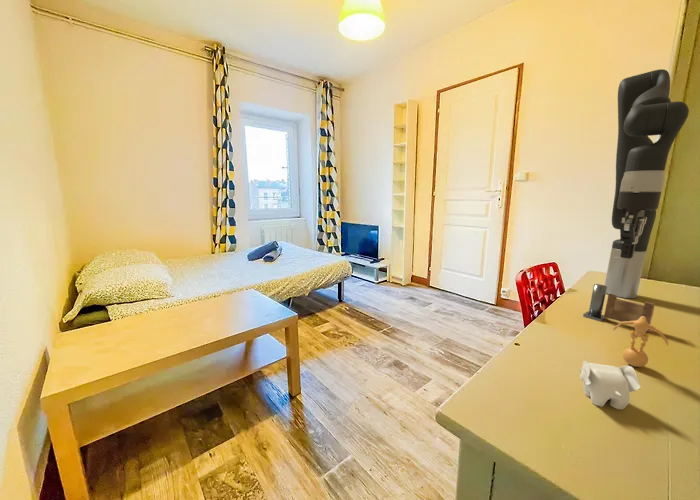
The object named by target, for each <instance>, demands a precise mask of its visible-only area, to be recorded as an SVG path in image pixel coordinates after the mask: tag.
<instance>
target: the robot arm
mask: <svg viewBox="0 0 700 500" xmlns="http://www.w3.org/2000/svg"><path fill="white" fill-rule="evenodd" d="M670 90H671V76H670V73H669V71H668V70H667V69H661V68H660V69H655V70H652V71H647V72H643V73H640V74H635V75H632V76H628V77H626V78H625V77H624V78H623V79H621V81H620V82H619V86H618V88H617V124H618V125H617V128H618V129H617V131H618V132H617V145H616V147H617V148H616V154H615V155H616V156H615V188H614V189H615V190H614V199H613V205H612V212H611V224H612V227H613V228H614V229H615V230H619V233H620V235H619V236H620V238H619V239H615V240H613V241H612V245H611V249H610V250H611V251H610V255H609V256H610V257H609V259H608V266H607V270H606V276H605V281H604V285H605V286H607V289H606V294H608V295H609V294H614V295H617V298H624V299H636V298H637V297H638V296H637V295H638V292H639V287H640V281H641V277H642V273H643V269H644V264H645V261H646V260H645V259H646V255H647V254H646V253H647V250H648V246H649V242H650V239H651V234H652V231H653V229H654V228H653V227H654V225H655V221H656V216H657V210H658V209H659V205H660V200H661V196H662V192H663V186H664V183H665V170H666V166H667V161H668V156H669V154H670V151H671V149H672V148H671V147H672V145H673V143H674V141H675V139H676V138H677V136H678V134H679V132H680V131H681V129H682V127H683V126H684V124H685V123H686V121H687V119H688V117H689V114H690V113H689V112H690V108H689V106H688V104H686V103H685V102H684V101H677V100H676V101H672V100H671V99H670V93H671V92H670ZM649 136H650V137H651V136H660V137H659V139H658V140H657V141H655V142H654V141H653V140H652V139H651V138H650V137H649Z"/></svg>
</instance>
